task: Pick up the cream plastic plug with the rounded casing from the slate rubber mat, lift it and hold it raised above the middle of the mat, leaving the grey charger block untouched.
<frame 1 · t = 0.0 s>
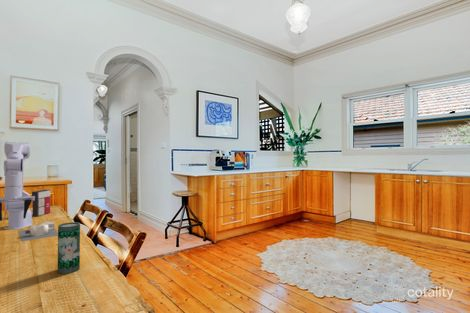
hand: (12, 219, 112), 11 cm above the table, tool pointing down, fingers open, 7 cm apart
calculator: (41, 215, 167), on the table
plug: (39, 234, 125), resting on mat
mat: (38, 233, 127), on the table
can: (68, 270, 89), on the table
charger: (47, 229, 134), resting on mat
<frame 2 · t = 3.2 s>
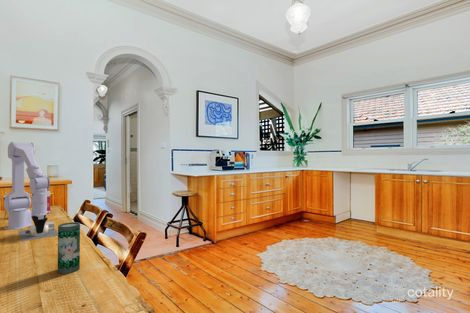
hand: (39, 232, 125), 2 cm above the table, tool pointing down, fingers closed on plug, 4 cm apart
plug: (39, 234, 125), resting on mat, touching gripper
everything else where it was.
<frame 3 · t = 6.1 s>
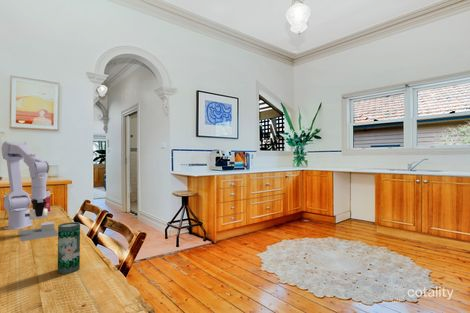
hand: (38, 215, 128), 9 cm above the table, tool pointing down, fingers closed on plug, 4 cm apart
plug: (38, 218, 128), point 7 cm above the table, touching gripper
everything else where it was.
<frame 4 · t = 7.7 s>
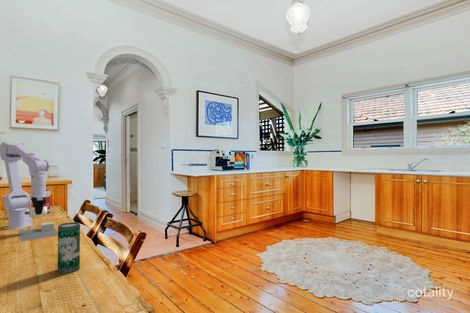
hand: (38, 213, 129), 9 cm above the table, tool pointing down, fingers closed on plug, 4 cm apart
plug: (38, 215, 129), point 8 cm above the table, touching gripper
everything else where it was.
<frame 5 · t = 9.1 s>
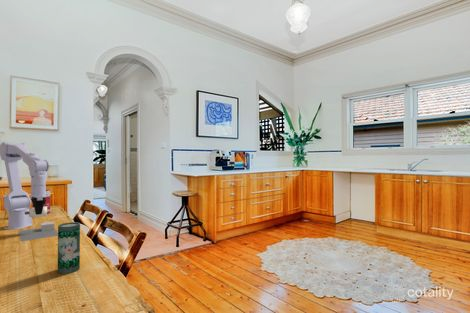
hand: (38, 213, 129), 9 cm above the table, tool pointing down, fingers closed on plug, 4 cm apart
plug: (38, 215, 129), point 8 cm above the table, touching gripper
everything else where it was.
at the end: the gripper is holding plug; plug point 8.2 cm above the table; charger moved 0.0 cm from its start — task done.
